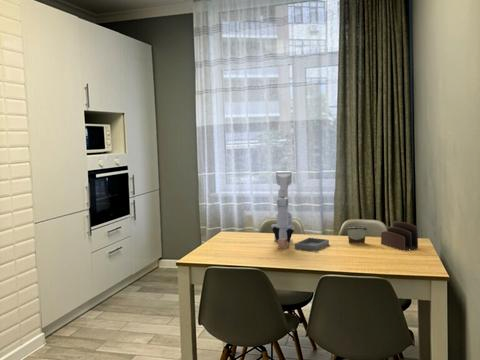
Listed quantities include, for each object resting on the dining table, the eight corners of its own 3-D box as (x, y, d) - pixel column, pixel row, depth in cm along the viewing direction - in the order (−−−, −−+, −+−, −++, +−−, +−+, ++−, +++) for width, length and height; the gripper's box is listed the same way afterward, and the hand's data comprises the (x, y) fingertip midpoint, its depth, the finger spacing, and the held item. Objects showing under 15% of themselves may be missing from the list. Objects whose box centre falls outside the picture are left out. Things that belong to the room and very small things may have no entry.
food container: (365, 241, 275) (365, 225, 274) (367, 243, 269) (367, 227, 268) (345, 241, 276) (345, 225, 275) (346, 243, 270) (346, 227, 269)
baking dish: (294, 248, 259) (294, 243, 259) (309, 242, 275) (309, 237, 274) (315, 251, 252) (315, 245, 251) (328, 244, 267) (328, 239, 267)
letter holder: (393, 242, 270) (394, 219, 269) (418, 249, 252) (418, 224, 251) (380, 244, 266) (380, 221, 265) (404, 251, 248) (404, 226, 247)
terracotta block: (278, 247, 262) (278, 239, 262) (281, 246, 266) (281, 238, 266) (284, 248, 260) (284, 240, 259) (288, 247, 263) (288, 238, 263)
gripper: (268, 218, 262) (269, 240, 263) (290, 220, 254) (290, 243, 255) (274, 216, 268) (275, 238, 269) (296, 218, 260) (296, 241, 261)
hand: (283, 240), depth 262 cm, fingers open, 7 cm apart
